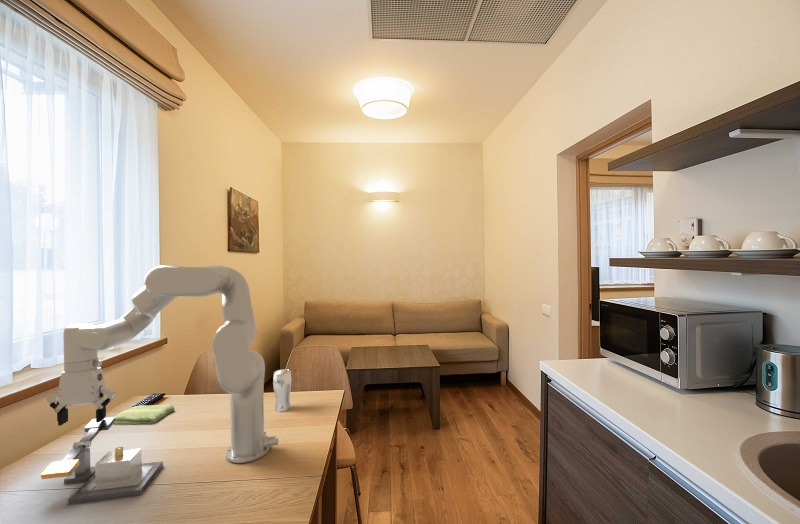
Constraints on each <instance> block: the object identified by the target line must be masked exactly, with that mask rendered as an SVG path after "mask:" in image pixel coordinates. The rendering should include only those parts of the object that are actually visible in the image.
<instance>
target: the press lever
mask: <svg viewBox="0 0 800 524" xmlns="http://www.w3.org/2000/svg"><path fill="white" fill-rule="evenodd" d="M114 422H115V417H113V416H110V417H105V418H104V419H103V420H102V421H100V422H96V418H92V419H91V420H90V421H89V422H88V423H87V424H86V425H85V427H84V428H83V430H84V433H85V434H84V436H83V437H82V438H81V439H80V440H79V441H77V442H74V443H73V445H72V449H71V450H70V451H69V452H68V453H67V454H66V456H65V457H63V459H62V460H60V461H53V462H51V463H50V464H49V465H48V466H47V467H46V468H45V469H44V471H42V473H41V474H40V477H41V480H48V479H54V478H55V479H57V478H64V477H65V478H66V477H67V476H70V475H71V474H72V473H73V472H74V470H75V469H76V468H77V467H78V465H79V464H80V462H79V459H78V460H76V459H77V457H78V456H79V455H80V454H81V453H82V452H83V450H84V449H85V448H90V447H91V446H92V441H93V440H95V438H96V437H97V435H98V434H99V433H101V431H108V430H110V428H111V427H112V426H114V425H113V423H114Z"/></svg>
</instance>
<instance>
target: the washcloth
mask: <svg viewBox="0 0 800 524" xmlns="http://www.w3.org/2000/svg"><path fill="white" fill-rule="evenodd" d="M174 411H175V407H174V406H173V405H172V404H171V403H170V404H169V403H167V404H154V405H153V404H151V405H150V404H148V405H146V404H145V405H135V406H133V407H130V408H128V409H127V410H126V409H125V410H122V411H121V412H119V413H118V414H117V415H114V416H112V417H115V422H114V423H113V424H119V425H123V424H124V425H152V423H153V424H155V423H157V422H158V421H159V420H162V419H163V418H164V417H165V416H167V415H169V414H171V413H173V412H174Z"/></svg>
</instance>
